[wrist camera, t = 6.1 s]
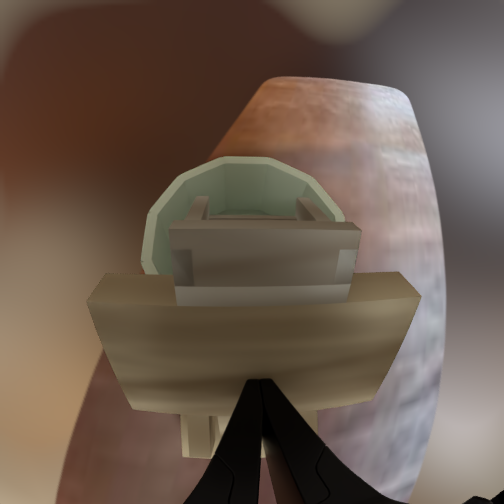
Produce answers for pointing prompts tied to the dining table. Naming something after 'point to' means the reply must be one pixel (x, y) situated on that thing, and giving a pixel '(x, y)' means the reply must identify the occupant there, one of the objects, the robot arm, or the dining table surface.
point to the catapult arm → (253, 315)
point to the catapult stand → (215, 434)
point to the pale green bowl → (229, 199)
